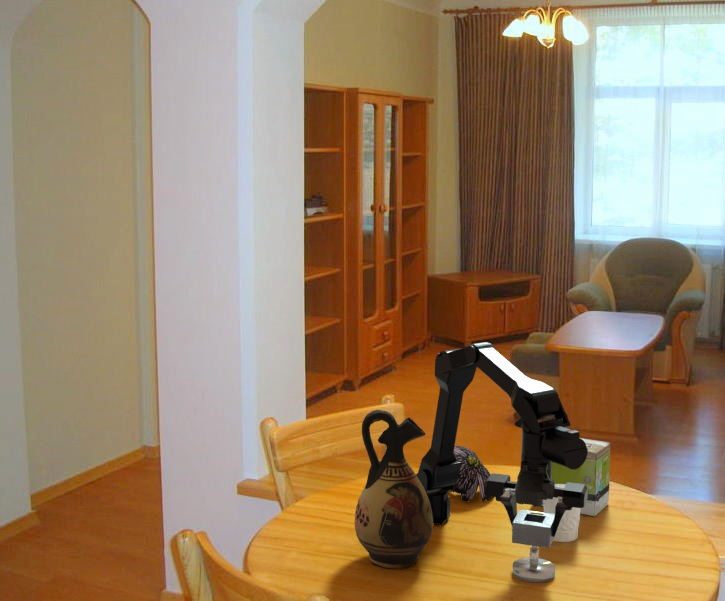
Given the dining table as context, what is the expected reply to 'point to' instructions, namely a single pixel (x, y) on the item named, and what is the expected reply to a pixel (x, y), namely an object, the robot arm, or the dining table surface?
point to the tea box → (589, 476)
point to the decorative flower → (470, 474)
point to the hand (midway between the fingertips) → (534, 533)
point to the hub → (533, 568)
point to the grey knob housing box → (533, 528)
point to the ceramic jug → (392, 498)
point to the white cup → (564, 520)
